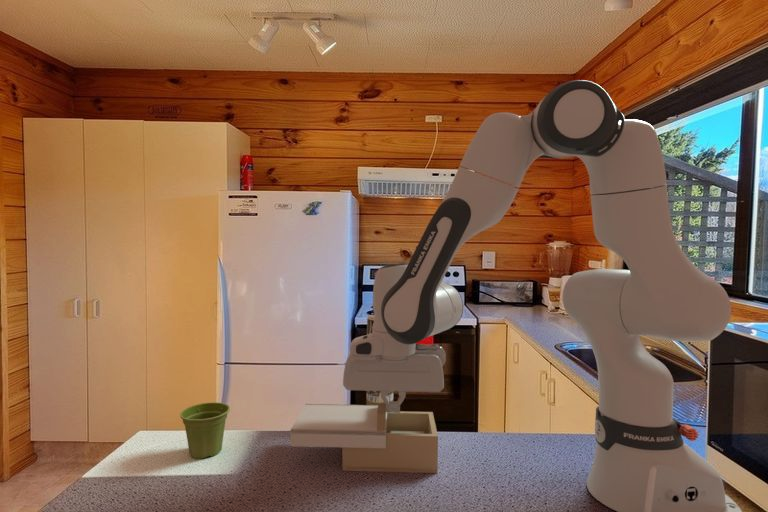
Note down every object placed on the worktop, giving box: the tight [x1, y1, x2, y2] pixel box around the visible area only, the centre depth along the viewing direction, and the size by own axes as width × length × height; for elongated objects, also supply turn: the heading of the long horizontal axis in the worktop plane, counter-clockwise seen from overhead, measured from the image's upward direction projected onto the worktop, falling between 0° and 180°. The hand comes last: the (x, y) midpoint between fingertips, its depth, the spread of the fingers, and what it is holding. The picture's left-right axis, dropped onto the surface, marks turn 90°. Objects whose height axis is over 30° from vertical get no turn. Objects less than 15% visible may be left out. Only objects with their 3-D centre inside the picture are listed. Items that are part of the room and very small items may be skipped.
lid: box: [289, 393, 387, 448], centre depth 88 cm, size 18×14×6 cm
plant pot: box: [179, 401, 231, 460], centre depth 89 cm, size 9×9×9 cm
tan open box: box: [341, 410, 439, 474], centre depth 88 cm, size 18×12×7 cm, turn 88°
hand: (392, 411), depth 88 cm, fingers closed
